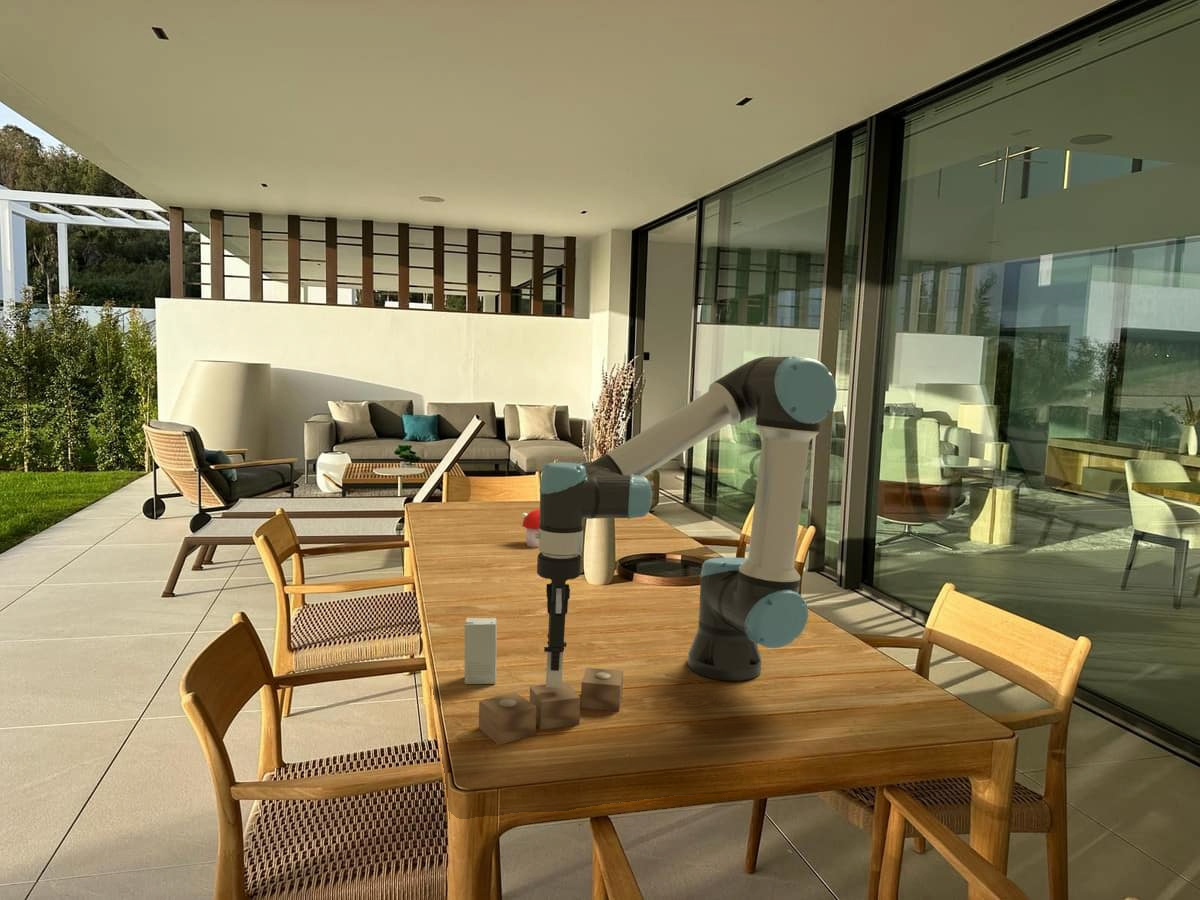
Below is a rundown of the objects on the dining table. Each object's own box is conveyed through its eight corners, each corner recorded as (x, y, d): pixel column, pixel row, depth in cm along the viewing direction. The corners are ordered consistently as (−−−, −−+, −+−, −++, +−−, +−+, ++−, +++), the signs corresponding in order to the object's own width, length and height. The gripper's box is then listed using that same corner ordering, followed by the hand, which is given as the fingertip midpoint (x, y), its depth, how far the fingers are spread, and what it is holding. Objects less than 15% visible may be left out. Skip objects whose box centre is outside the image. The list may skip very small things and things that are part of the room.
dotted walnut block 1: (514, 719, 140) (515, 690, 139) (535, 735, 134) (536, 705, 133) (478, 728, 135) (479, 699, 135) (498, 745, 130) (499, 715, 129)
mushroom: (518, 541, 272) (519, 507, 271) (549, 540, 275) (550, 506, 274) (524, 549, 262) (525, 513, 261) (557, 548, 265) (558, 512, 264)
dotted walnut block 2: (622, 696, 151) (623, 669, 150) (618, 712, 144) (620, 684, 144) (585, 692, 152) (586, 666, 151) (580, 708, 145) (581, 681, 144)
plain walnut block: (566, 708, 145) (567, 681, 144) (579, 725, 138) (580, 697, 138) (529, 713, 142) (530, 686, 142) (540, 730, 136) (541, 702, 135)
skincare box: (496, 676, 158) (498, 616, 156) (495, 685, 153) (497, 624, 152) (464, 676, 157) (466, 616, 156) (463, 685, 152) (464, 623, 151)
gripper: (537, 543, 143) (532, 670, 146) (537, 562, 130) (531, 701, 133) (579, 545, 144) (573, 671, 146) (583, 563, 131) (576, 701, 133)
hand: (553, 685), depth 139 cm, fingers closed
